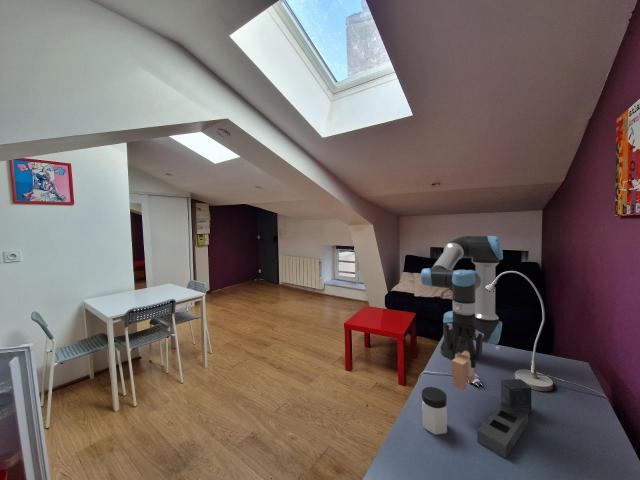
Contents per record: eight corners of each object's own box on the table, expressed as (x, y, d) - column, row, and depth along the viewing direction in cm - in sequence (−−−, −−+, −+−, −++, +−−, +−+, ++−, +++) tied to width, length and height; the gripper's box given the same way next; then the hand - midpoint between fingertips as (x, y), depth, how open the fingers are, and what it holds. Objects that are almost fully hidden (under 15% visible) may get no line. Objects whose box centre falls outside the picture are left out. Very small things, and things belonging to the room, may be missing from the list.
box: (520, 404, 104) (520, 378, 104) (532, 414, 99) (532, 387, 98) (500, 405, 105) (500, 379, 104) (510, 415, 99) (510, 388, 98)
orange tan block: (465, 374, 106) (465, 350, 105) (476, 379, 103) (476, 354, 102) (451, 386, 99) (451, 360, 98) (463, 391, 96) (462, 364, 95)
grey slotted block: (502, 411, 101) (502, 401, 101) (527, 423, 95) (528, 412, 94) (477, 442, 88) (477, 430, 87) (505, 458, 81) (505, 446, 81)
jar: (422, 414, 101) (421, 384, 100) (446, 419, 98) (445, 388, 97) (422, 432, 93) (421, 399, 92) (447, 438, 90) (447, 404, 89)
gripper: (436, 309, 103) (437, 366, 105) (484, 320, 90) (485, 386, 92) (446, 304, 108) (446, 360, 110) (493, 315, 95) (493, 378, 96)
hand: (464, 372), depth 101 cm, fingers closed on orange tan block, 4 cm apart
